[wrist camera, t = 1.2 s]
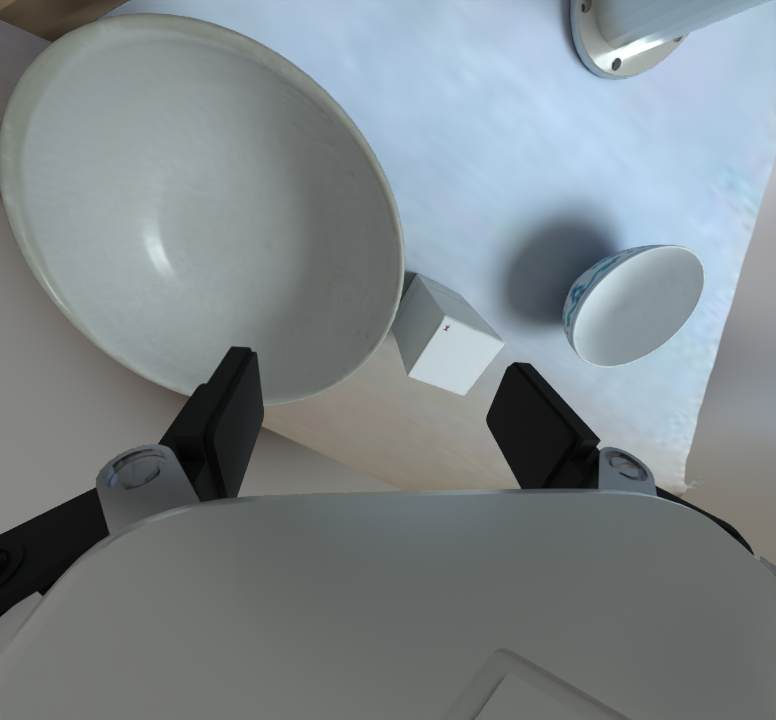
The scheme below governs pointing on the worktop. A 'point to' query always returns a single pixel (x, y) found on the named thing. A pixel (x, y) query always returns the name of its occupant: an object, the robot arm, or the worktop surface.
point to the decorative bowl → (200, 205)
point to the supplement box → (442, 337)
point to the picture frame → (54, 15)
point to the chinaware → (632, 303)
